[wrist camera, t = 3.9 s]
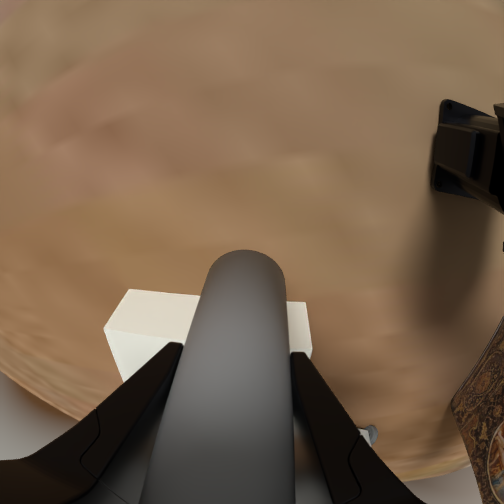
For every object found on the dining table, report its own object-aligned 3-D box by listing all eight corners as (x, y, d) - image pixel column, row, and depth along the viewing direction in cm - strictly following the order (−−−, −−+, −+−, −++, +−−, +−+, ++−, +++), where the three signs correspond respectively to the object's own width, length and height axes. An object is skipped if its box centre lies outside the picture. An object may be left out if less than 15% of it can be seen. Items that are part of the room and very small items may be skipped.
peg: (289, 252, 11) (312, 554, 2) (281, 317, 13) (283, 559, 4) (205, 247, 11) (105, 526, 3) (208, 312, 13) (152, 545, 4)
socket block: (305, 302, 22) (312, 349, 18) (284, 404, 28) (285, 444, 24) (129, 288, 22) (103, 328, 18) (157, 391, 29) (145, 428, 24)
